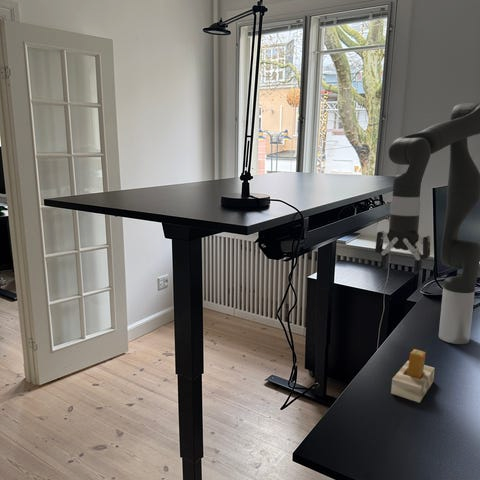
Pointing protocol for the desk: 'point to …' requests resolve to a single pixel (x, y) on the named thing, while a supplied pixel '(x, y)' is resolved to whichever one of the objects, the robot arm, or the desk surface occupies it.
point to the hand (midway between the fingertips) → (400, 270)
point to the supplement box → (416, 364)
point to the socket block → (412, 383)
